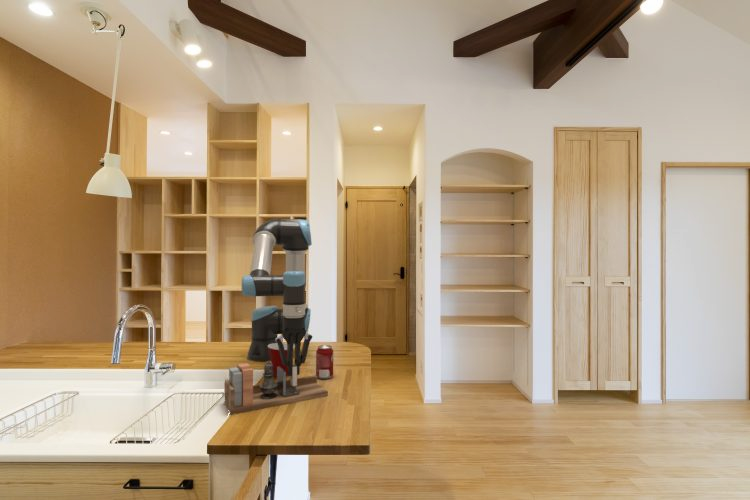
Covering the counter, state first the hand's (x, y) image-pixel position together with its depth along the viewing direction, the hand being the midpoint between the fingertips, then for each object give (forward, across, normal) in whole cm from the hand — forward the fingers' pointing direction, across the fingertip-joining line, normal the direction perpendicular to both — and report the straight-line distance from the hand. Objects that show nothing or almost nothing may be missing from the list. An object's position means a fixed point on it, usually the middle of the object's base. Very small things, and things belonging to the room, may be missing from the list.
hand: (293, 384), depth 137 cm
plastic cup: (+4, +3, +24) cm, 25 cm away
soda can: (+4, +17, +14) cm, 22 cm away
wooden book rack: (+4, -6, 0) cm, 7 cm away
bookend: (+2, -2, 0) cm, 3 cm away
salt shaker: (+3, -9, 0) cm, 9 cm away
